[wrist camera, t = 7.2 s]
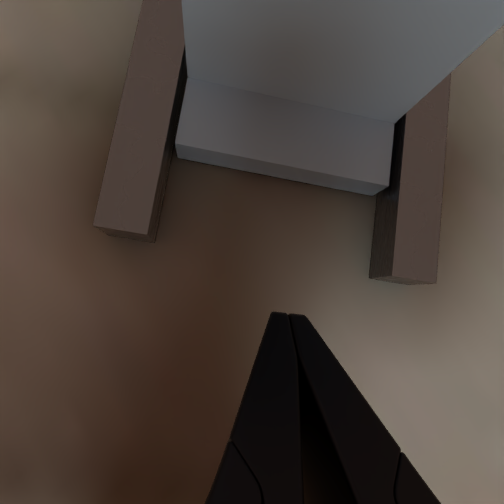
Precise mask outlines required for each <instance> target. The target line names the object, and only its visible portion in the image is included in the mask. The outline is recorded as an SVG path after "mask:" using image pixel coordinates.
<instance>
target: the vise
mask: <svg viewBox="0 0 504 504" xmlns="http://www.w3.org/2000/svg"><path fill="white" fill-rule="evenodd" d="M186 79H187V63H186V51H185V38H184V25H183V13H182V0H143V3H142V7H141V12H140V16H139V21H138V25H137V30H136V34H135V39H134V43H133V48H132V52H131V57H130V61H129V66H128V70H127V75H126V79H125V84H124V88H123V93H122V97H121V101H120V106H119V110H118V115H117V119H116V124H115V128H114V133H113V137H112V142H111V146H110V151H109V155H108V160H107V164H106V169H105V173H104V178H103V182H102V186H101V191H100V195H99V200H98V204H97V209H96V213H95V218H94V222H93V226H94V227H96V228H98V229H99V230H101V231H102V232H104V233H106V234H107V235H112V236H118V237H124V238H130V239H136V240H142V241H148V242H154V243H155V238H156V233H157V228H158V223H159V218H160V213H161V208H162V202H163V197H164V192H165V187H166V182H167V177H168V172H169V166H170V161H171V156H172V151H173V146H174V141H175V136H176V130H177V125H178V120H179V115H180V110H181V105H182V100H183V95H184V89H185V84H186ZM450 79H451V73H450V74H448V75H447V76H446V77H445V78H444V79H443V80H442V81H441V82H440V83H439V84H437V85H436V86H435V87H434V88H433V89H432V90H431V91H430V92H429V93H428V94H426V95H425V96H424V97H423V98H422V99H421V100H420V101H419V102H418V103H417V104H415V105H414V106H413V107H412V108H411V109H410V110H409V111H408V112H407V113H406V114H404V115H403V116H402V117H401V118H400V119H399V120H398V121H397V122H396V123H395V124H394V135H393V146H392V156H391V167H390V178H389V186H388V187H386V188H385V189H383V190H381V191H380V192H378V193H377V203H376V214H375V224H374V234H373V244H372V254H371V264H370V274H369V278H370V279H376V280H382V281H388V282H394V283H400V284H406V285H415V284H433V283H436V280H437V266H438V251H439V237H440V223H441V208H442V194H443V180H444V165H445V151H446V137H447V122H448V108H449V94H450Z"/></svg>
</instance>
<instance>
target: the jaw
mask: <svg viewBox="0 0 504 504" xmlns="http://www.w3.org/2000/svg"><path fill="white" fill-rule="evenodd" d="M182 13H183V25H184V38H185V51H186V63H187V76H188V78H187V83H186V88H185V93H184V99H183V104H182V109H181V114H180V119H179V124H178V129H177V135H176V140H175V147H176V152H177V157H178V158H181V159H186V160H191V161H197V162H202V163H207V164H212V165H217V166H222V167H227V168H232V169H237V170H243V171H248V172H253V173H258V174H263V175H268V176H273V177H278V178H283V179H288V180H294V181H299V182H304V183H309V184H314V185H319V186H324V187H329V188H334V189H340V190H345V191H350V192H355V193H360V194H365V195H370V196H373V195H375V194H376V193H378V192H380V191H381V190H383V189H385V188H386V187H388V186H389V178H390V167H391V156H392V146H393V135H394V124H395V123H396V122H397V121H398V120H399V119H400V118H401V117H402V116H403V115H404V114H406V113H407V112H408V111H409V110H410V109H411V108H412V107H413V106H414V105H415V104H417V103H418V102H419V101H420V100H421V99H422V98H423V97H424V96H425V95H426V94H428V93H429V92H430V91H431V90H432V89H433V88H434V87H435V86H436V85H437V84H439V83H440V82H441V81H442V80H443V79H444V78H445V77H446V76H447V75H448V74H450V73H451V72H452V71H453V70H454V69H455V68H456V67H457V66H458V65H460V64H461V63H462V62H463V61H464V60H465V59H466V58H467V57H468V56H469V55H471V54H472V53H473V52H474V51H475V50H476V49H477V48H478V47H479V46H480V45H482V44H483V43H484V42H485V41H486V40H487V39H488V38H489V37H490V36H491V35H493V34H494V33H495V32H496V31H497V30H498V29H499V28H500V27H501V26H502V25H504V0H182Z"/></svg>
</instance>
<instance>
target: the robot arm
mask: <svg viewBox="0 0 504 504" xmlns="http://www.w3.org/2000/svg"><path fill="white" fill-rule="evenodd" d="M205 504H441V503H440V502H439V500H438V499H437V498H436V496H435V495H434V494H433V492H432V491H431V490H430V488H429V487H428V486H427V484H426V483H425V481H424V480H423V479H422V477H421V476H420V475H419V473H418V472H417V471H416V469H415V468H414V467H413V465H412V464H411V462H410V461H409V460H408V458H407V457H406V455H405V454H404V453H403V452H401V449H400V447H399V446H398V444H397V443H396V442H395V440H394V439H393V437H392V436H391V435H390V433H389V432H388V430H387V429H386V428H385V426H384V425H383V423H382V422H381V421H380V419H379V418H378V416H377V415H376V414H375V412H374V411H373V409H372V408H371V407H370V405H369V404H368V402H367V401H366V399H365V398H364V397H363V395H362V394H361V392H360V391H359V390H358V388H357V387H356V385H355V384H354V383H353V381H352V380H351V378H350V377H349V376H348V374H347V373H346V371H345V370H344V369H343V367H342V366H341V364H340V363H339V362H338V360H337V359H336V357H335V356H334V355H333V353H332V352H331V350H330V349H329V348H328V346H327V345H326V343H325V342H324V341H323V339H322V338H321V336H320V335H319V334H318V332H317V331H316V329H315V328H314V327H313V325H312V324H311V322H310V321H309V320H308V318H307V317H306V316H305V315H301V314H292V313H291V314H287V313H282V312H271V314H270V317H269V320H268V323H267V326H266V329H265V332H264V335H263V338H262V341H261V344H260V347H259V350H258V353H257V356H256V359H255V362H254V365H253V368H252V371H251V374H250V377H249V380H248V383H247V386H246V389H245V392H244V395H243V398H242V401H241V404H240V407H239V410H238V413H237V416H236V419H235V422H234V425H233V428H232V431H231V434H230V437H229V440H228V442H227V445H226V448H225V451H224V454H223V457H222V460H221V463H220V466H219V468H218V471H217V474H216V476H215V479H214V482H213V484H212V487H211V490H210V492H209V495H208V497H207V499H206V501H205Z"/></svg>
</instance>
